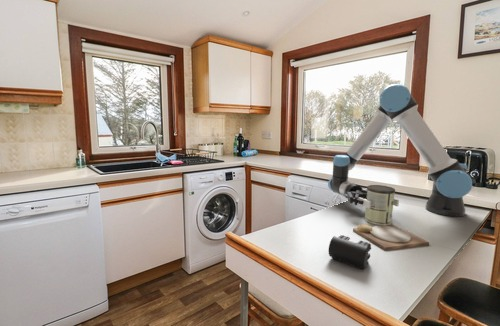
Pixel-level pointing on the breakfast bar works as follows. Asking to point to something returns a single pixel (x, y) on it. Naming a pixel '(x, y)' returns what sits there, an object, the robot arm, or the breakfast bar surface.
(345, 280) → the breakfast bar surface
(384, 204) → the coffee can
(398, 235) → the carrier board
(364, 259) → the end cap
